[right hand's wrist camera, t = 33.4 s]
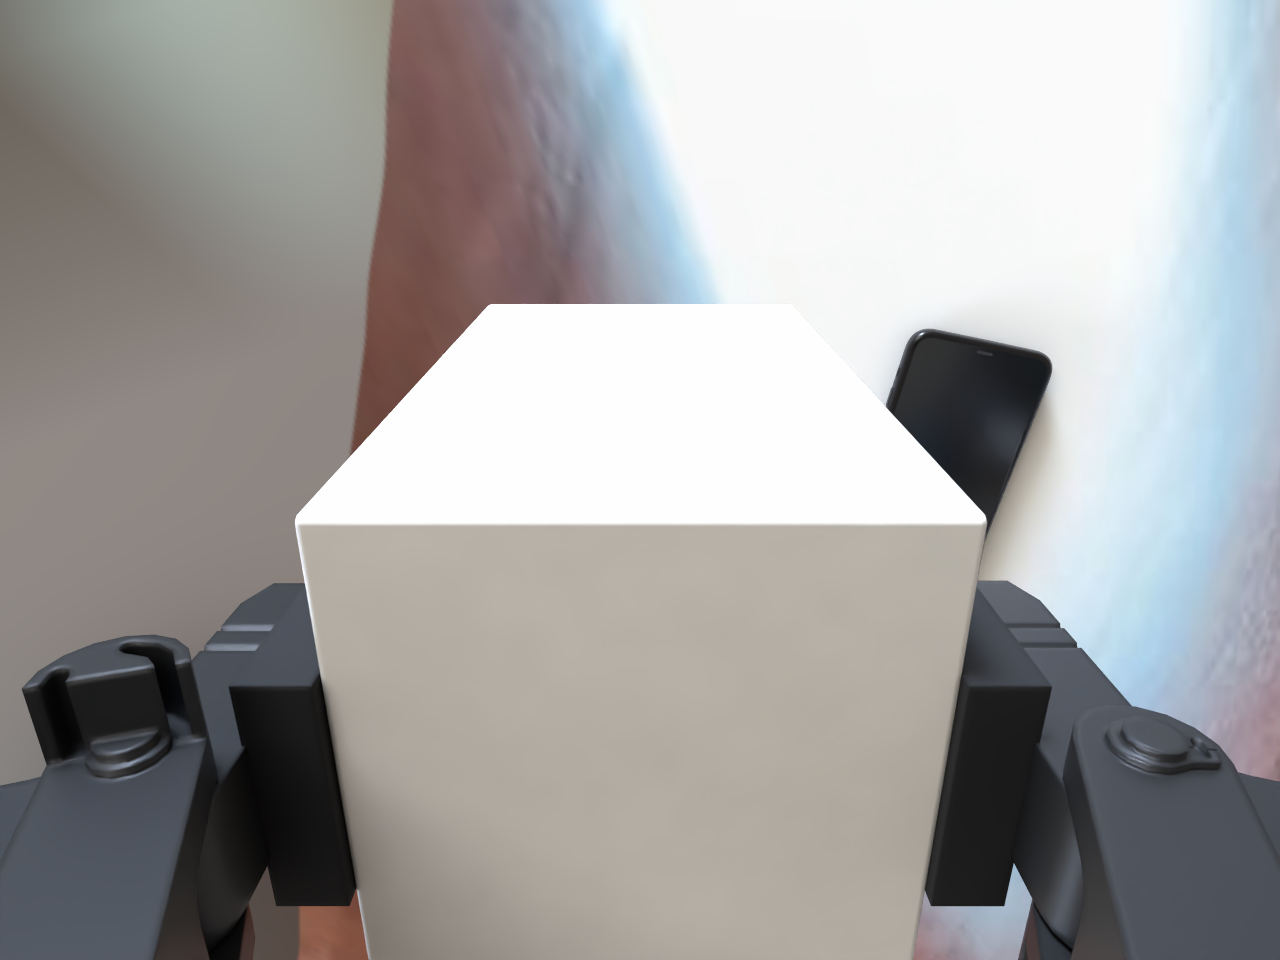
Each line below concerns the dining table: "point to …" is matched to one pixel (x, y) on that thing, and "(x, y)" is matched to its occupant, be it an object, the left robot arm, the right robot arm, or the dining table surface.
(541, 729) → the block
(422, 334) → the dining table surface
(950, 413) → the smartphone
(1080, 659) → the right robot arm
